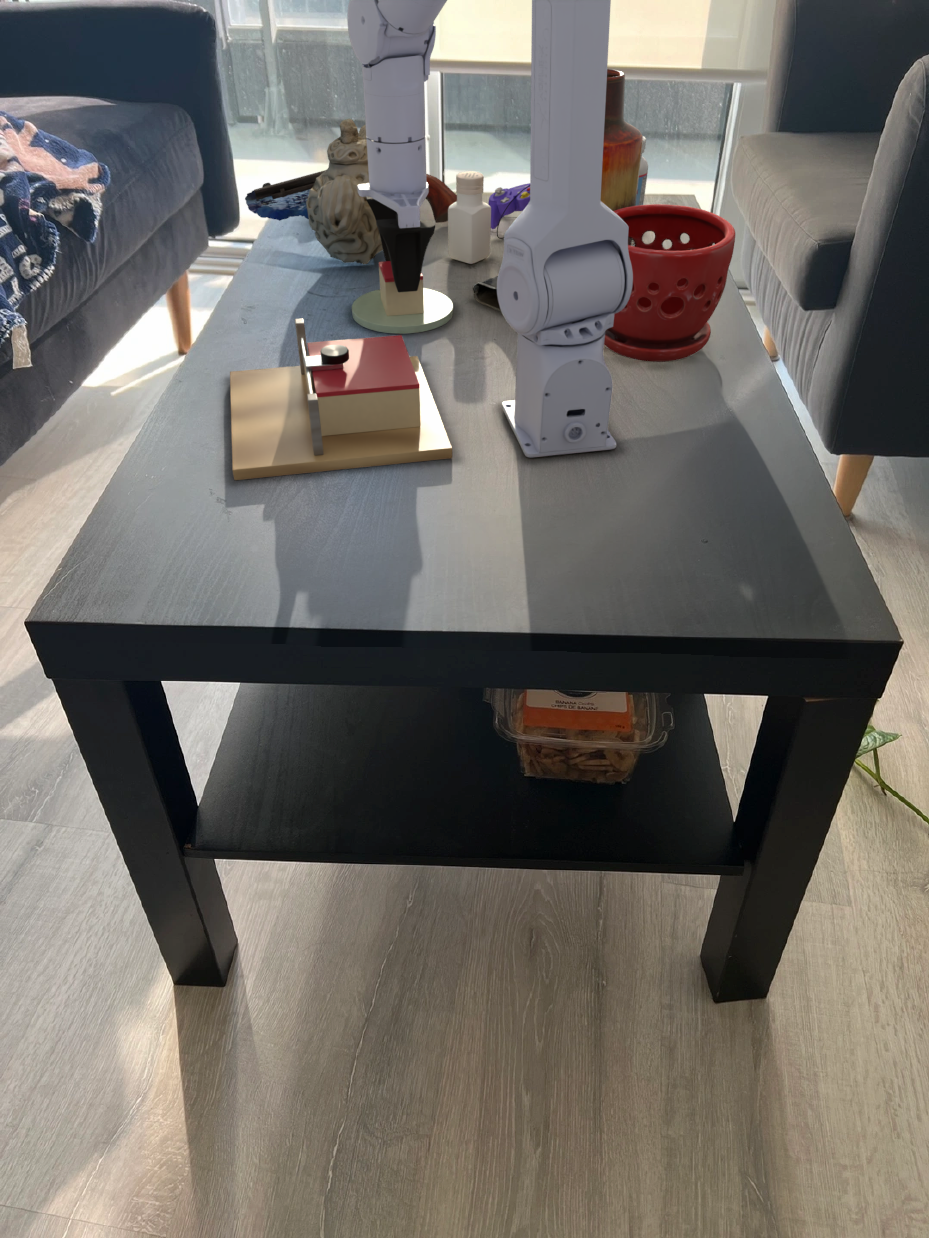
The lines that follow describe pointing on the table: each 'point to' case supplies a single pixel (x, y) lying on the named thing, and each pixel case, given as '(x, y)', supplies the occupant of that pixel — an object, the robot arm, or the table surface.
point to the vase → (619, 149)
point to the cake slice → (398, 294)
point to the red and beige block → (367, 387)
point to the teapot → (344, 200)
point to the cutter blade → (324, 360)
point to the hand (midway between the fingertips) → (401, 277)
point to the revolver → (438, 191)
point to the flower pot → (671, 282)
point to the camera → (487, 293)
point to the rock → (279, 205)
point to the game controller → (508, 202)
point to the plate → (374, 316)
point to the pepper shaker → (469, 220)
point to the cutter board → (316, 427)
